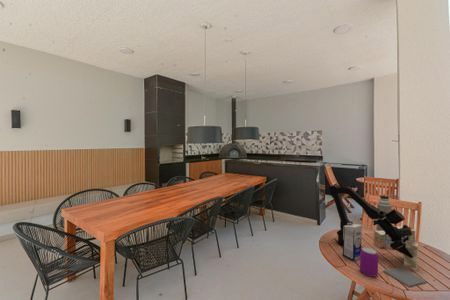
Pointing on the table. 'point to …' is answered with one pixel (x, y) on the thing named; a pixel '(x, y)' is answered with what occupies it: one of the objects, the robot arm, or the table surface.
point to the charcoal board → (404, 276)
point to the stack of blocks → (388, 239)
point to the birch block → (413, 250)
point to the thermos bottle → (383, 208)
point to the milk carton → (352, 241)
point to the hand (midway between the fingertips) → (413, 254)
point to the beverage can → (369, 261)
